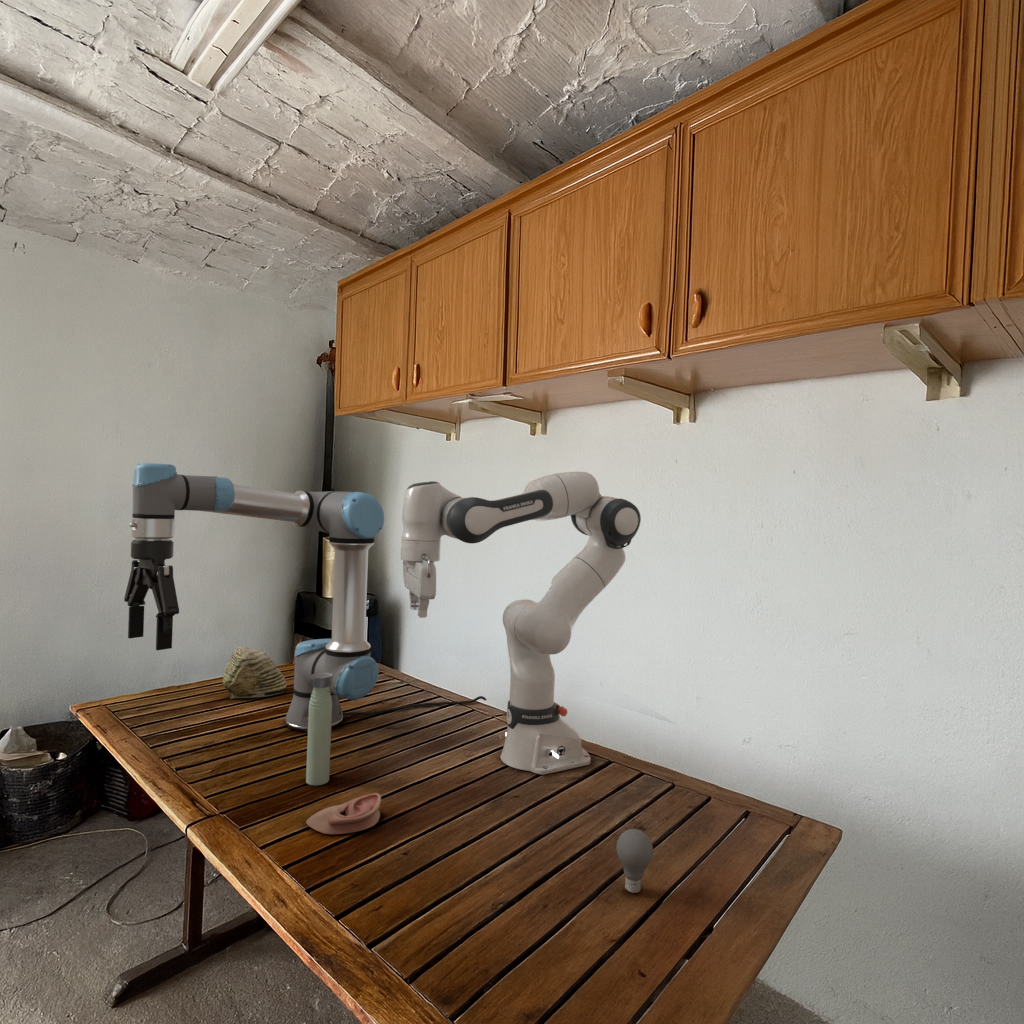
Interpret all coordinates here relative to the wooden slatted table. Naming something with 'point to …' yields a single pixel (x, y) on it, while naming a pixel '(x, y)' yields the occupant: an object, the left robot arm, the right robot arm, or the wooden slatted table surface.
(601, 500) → the right robot arm
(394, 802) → the wooden slatted table surface
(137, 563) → the left robot arm
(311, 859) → the wooden slatted table surface
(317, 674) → the cap
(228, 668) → the fossil
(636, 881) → the light bulb
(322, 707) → the bottle
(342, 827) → the anatomical model
